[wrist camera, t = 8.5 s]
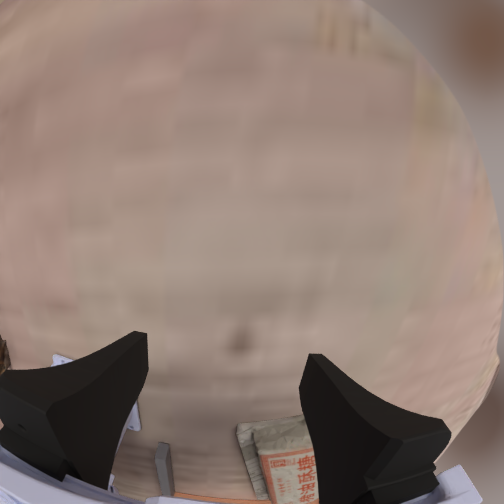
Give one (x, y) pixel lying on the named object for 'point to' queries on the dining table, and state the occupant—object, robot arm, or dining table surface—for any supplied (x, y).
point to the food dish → (3, 356)
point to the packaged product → (280, 460)
